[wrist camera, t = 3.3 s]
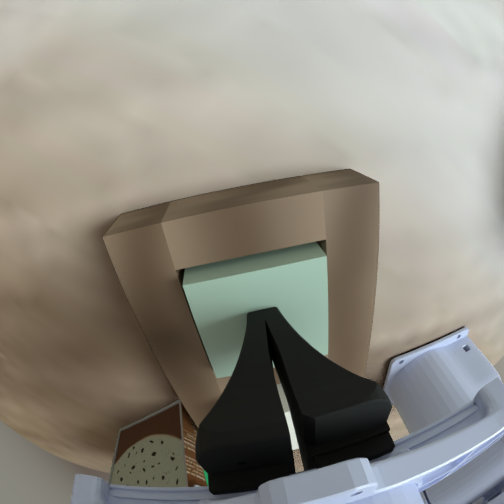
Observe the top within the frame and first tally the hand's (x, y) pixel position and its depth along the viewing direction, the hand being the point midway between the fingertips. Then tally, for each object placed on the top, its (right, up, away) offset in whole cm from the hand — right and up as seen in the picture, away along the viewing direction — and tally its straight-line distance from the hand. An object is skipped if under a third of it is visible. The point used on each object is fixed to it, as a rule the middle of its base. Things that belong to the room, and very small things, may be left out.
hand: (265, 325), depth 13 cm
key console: (0, -2, +5) cm, 6 cm away
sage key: (0, +1, +2) cm, 2 cm away
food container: (-8, -13, +10) cm, 18 cm away
